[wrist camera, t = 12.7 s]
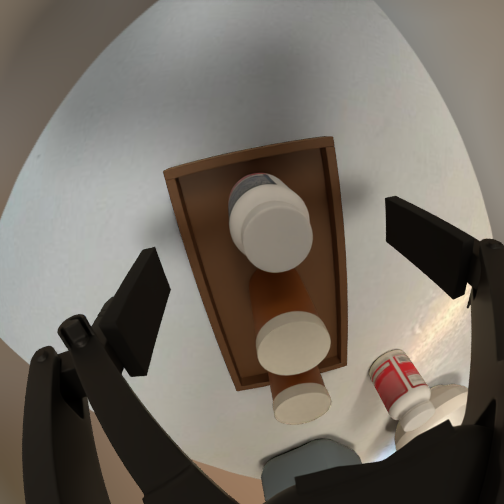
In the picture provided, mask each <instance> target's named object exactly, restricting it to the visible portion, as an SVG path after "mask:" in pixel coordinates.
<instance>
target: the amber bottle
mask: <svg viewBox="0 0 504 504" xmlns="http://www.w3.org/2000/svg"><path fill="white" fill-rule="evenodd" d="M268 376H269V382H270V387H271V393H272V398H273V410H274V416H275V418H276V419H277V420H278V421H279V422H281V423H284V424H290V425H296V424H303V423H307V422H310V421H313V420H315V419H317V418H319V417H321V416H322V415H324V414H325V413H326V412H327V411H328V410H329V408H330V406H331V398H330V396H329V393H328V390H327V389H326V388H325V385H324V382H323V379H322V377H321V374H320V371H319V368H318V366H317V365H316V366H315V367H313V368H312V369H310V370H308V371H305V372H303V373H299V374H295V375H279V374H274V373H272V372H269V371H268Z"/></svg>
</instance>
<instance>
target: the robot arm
mask: <svg viewBox="0 0 504 504" xmlns="http://www.w3.org/2000/svg"><path fill="white" fill-rule="evenodd" d="M385 206H386V242H387V243H389V244H390V245H391V246H392V247H394V248H395V249H396V250H397V251H398V252H400V253H401V254H402V255H403V256H404V257H406V258H407V259H408V260H409V261H410V262H412V263H413V264H414V265H415V266H416V267H418V268H419V269H420V270H421V271H422V272H423V273H424V274H426V275H427V276H428V277H429V278H430V279H431V280H432V281H433V282H435V283H436V284H437V285H438V286H439V287H440V288H441V289H442V290H443V291H445V292H446V293H447V294H448V295H449V296H450V297H451V298H452V299H456V298H458V297H460V296H462V295H464V294H465V290H466V285H467V283H468V284H470V285H471V286H472V289H471V293H470V297H469V301H468V305H467V308H469V306H470V305H471V329H472V333H471V364H470V377H469V387H468V395H467V403H466V410H465V415H464V419H463V421H462V424H461V425H458V426H452V424H451V422H450V420H449V419H447V420H446V421H444V422H442V423H440V424H439V425H437V426H435V427H433V428H431V429H429V430H427V431H425V432H423V433H421V434H419V435H417V436H416V437H415V438H413V439H412V440H411V441H410V442H408V443H407V444H406V445H404V446H403V447H402V448H400V449H399V450H398V451H396V452H395V453H393V454H392V455H391V456H389V457H388V458H386V459H385V460H382V461H379V462H372V463H365V464H356V465H346V466H336V467H333V468H329V469H325V470H321V471H318V472H313V473H309V474H305V475H300V476H296V477H294V479H295V485H293V486H291V487H289V488H286V489H284V490H283V491H281V492H279V493H277V494H276V495H274V496H273V497H271V498H270V499H268V500H267V501H266V502H265V503H263V504H504V245H503V244H502V243H501V242H499V241H496V240H494V239H483V240H481V241H479V240H477V239H475V238H474V237H472V236H470V235H469V234H467V233H465V232H464V231H462V230H460V229H458V228H457V227H455V226H453V225H451V224H450V223H448V222H446V221H444V220H442V219H440V218H439V217H437V216H435V215H433V214H431V213H429V212H427V211H425V210H423V209H421V208H419V207H417V206H415V205H413V204H411V203H409V202H407V201H405V200H403V199H401V198H399V197H397V196H393V197H387V198H385ZM170 291H171V289H170V286H169V284H168V281H167V278H166V276H165V273H164V270H163V268H162V265H161V262H160V259H159V257H158V254H157V251H156V248H155V247H152V248H148V249H144V250H142V252H141V253H140V255H139V256H138V258H137V259H136V261H135V263H134V264H133V266H132V267H131V269H130V271H129V272H128V274H127V275H126V277H125V279H124V280H123V282H122V284H121V285H120V287H119V289H118V291H117V292H116V294H115V296H114V297H111V298H110V299H109V300H108V301H107V302H106V303H105V304H104V306H103V307H102V309H101V312H99V314H98V317H97V318H96V319H95V321H94V323H93V325H92V327H91V326H90V324H89V322H88V320H87V319H86V317H85V316H84V315H82V314H78V315H74V316H72V317H70V318H68V319H66V320H65V321H64V322H63V323H62V324H61V325H60V326H59V328H58V335H59V336H60V338H61V339H62V341H63V342H64V344H65V345H66V347H67V348H68V350H69V351H66V352H63V353H60V354H57V352H56V351H55V350H54V348H53V347H52V346H46V347H43V348H41V349H39V350H37V351H36V352H35V354H34V356H33V357H32V359H31V362H30V368H29V374H28V381H27V388H26V396H25V406H24V418H23V439H22V461H23V481H24V493H25V501H26V504H111V503H110V500H109V497H108V493H107V490H106V487H105V483H104V480H103V476H102V472H101V468H100V464H99V460H98V456H97V451H96V447H95V442H94V436H93V431H92V425H91V419H90V413H89V405H88V400H89V402H90V404H91V406H92V408H93V410H94V412H95V414H96V416H97V418H98V420H99V422H100V424H101V426H102V428H103V430H104V432H105V433H106V435H107V437H108V439H109V441H110V442H111V444H112V446H113V447H114V449H115V451H116V453H117V454H118V456H119V458H120V459H121V461H122V462H123V464H124V466H125V467H126V469H127V470H128V471H129V473H130V474H131V476H132V478H133V479H134V480H135V482H136V483H137V485H138V486H139V487H140V489H141V490H142V492H143V493H144V498H143V499H142V500H143V503H144V504H239V503H238V502H237V501H236V500H235V499H233V498H232V497H231V496H230V495H228V494H227V493H226V492H225V491H224V490H223V489H221V488H220V487H219V486H218V485H217V484H216V483H215V482H214V481H213V480H212V479H210V478H209V477H208V476H207V475H206V474H205V473H204V472H203V471H202V470H201V469H200V468H199V467H198V466H197V465H196V464H195V463H194V462H193V461H192V460H191V459H190V458H189V457H188V456H187V455H186V454H185V453H184V452H183V451H182V450H181V448H180V447H179V446H178V445H177V444H176V443H175V442H174V441H173V440H172V439H171V437H170V436H169V435H168V434H167V433H166V432H165V431H164V429H163V428H162V427H161V426H160V425H159V423H158V422H157V421H156V420H155V419H154V417H153V416H152V415H151V414H150V412H149V411H148V410H147V409H146V407H145V406H144V405H143V403H142V402H141V401H140V399H139V398H138V397H137V395H136V394H135V393H134V391H133V390H132V389H131V387H130V386H129V384H128V383H127V381H126V380H125V379H124V377H123V376H122V372H123V369H124V368H125V369H126V371H127V372H128V374H129V375H130V377H136V376H147V373H148V369H149V365H150V361H151V357H152V353H153V349H154V346H155V342H156V338H157V335H158V331H159V328H160V324H161V321H162V317H163V314H164V310H165V307H166V304H167V300H168V297H169V294H170Z"/></svg>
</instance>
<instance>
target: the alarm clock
mask: <svg viewBox="0 0 504 504" xmlns="http://www.w3.org/2000/svg"><path fill="white" fill-rule="evenodd" d="M356 464H362V463H361V460H360V457H359V456H358V455H357V453H356V452H355V451H354V450H352V449H350V448H348V447H346V446H344V445H341V444H339V443H337V442H335V441H332V440H329V439H319V440H314V441H310V442H309V443H308V444H306V445H303V446H301V447H299V448H297V449H295V450H292V451H290V452H288V453H285V454H283V455H280V456H278V457H277V456H276V457H274V458H273V459H271V460H269V461H268V462H267V464H266V465H265V466H264V468H263V472H262V475H261V480H262V486H263V491H264V497H265V501H267V500H268V499H270V498H271V497H273V496H274V495H276V494H277V493H279V492H281V491H283V490H284V489H286V488H289V487H291V486H293V485H295V479H294V477H296V476H300V475H305V474H309V473H313V472H318V471H321V470H325V469H329V468H333V467H336V466H346V465H356Z"/></svg>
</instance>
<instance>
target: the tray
mask: <svg viewBox="0 0 504 504" xmlns="http://www.w3.org/2000/svg"><path fill="white" fill-rule="evenodd" d="M253 173H266V174H270V175H273V176H275V177H277V178H278V179H280V180H281V181H282V182H283V183H284V184H286V185H287V186H288V187H289V188H290V189H291V190H292V191H294V192H295V193H296V194H297V195H298V196H299V197H300V198H301V199H302V200H303V202H304V203H305V205H306V207H307V210H308V213H309V220H310V225H311V228H312V233H313V242H312V246H311V249H310V252H309V253H308V255H307V257H306V258H305V259H304V260H303V261H302V262H301V263H300V264H299V265H298V266H296V267H294V269H295V270H296V271H297V272H298V274H299V276H300V278H301V280H302V282H303V284H304V286H305V288H306V290H307V292H308V294H309V297H310V299H311V301H312V303H313V305H314V307H315V309H316V311H317V313H318V315H319V317H320V319H321V320H322V322H323V323H324V325H325V327H326V329H327V331H328V333H329V336H330V340H331V344H330V349H329V351H328V353H327V355H326V357H325V358H324V359H323V360H322V361H321V362H320V363H319V364H318V365H317V366H318V368H319V371H320V373H323V372H327V371H330V370H334V369H337V368H340V367H344V366H347V341H348V301H347V269H346V250H345V236H344V223H343V212H342V202H341V192H340V184H339V176H338V168H337V161H336V154H335V147H334V140H333V137H331V136H322V137H315V138H308V139H301V140H294V141H288V142H282V143H276V144H271V145H265V146H260V147H255V148H250V149H245V150H240V151H235V152H231V153H226V154H222V155H218V156H213V157H209V158H205V159H201V160H197V161H193V162H189V163H186V164H182V165H178V166H174V167H171V168H168V169H166V170H164V171H163V174H164V177H165V181H166V185H167V188H168V192H169V195H170V199H171V203H172V206H173V210H174V213H175V217H176V220H177V223H178V227H179V230H180V233H181V237H182V240H183V243H184V246H185V250H186V253H187V256H188V259H189V262H190V265H191V268H192V272H193V275H194V278H195V281H196V284H197V287H198V289H199V292H200V295H201V298H202V301H203V304H204V307H205V310H206V312H207V315H208V318H209V321H210V324H211V326H212V329H213V332H214V334H215V337H216V340H217V342H218V345H219V348H220V350H221V353H222V355H223V358H224V361H225V363H226V366H227V368H228V371H229V373H230V376H231V378H232V381H233V383H234V386H235V388H236V390H237V391H242V390H248V389H253V388H258V387H264V386H269V385H270V382H269V376H268V370H266V369H265V368H264V367H263V366H262V365H261V364H260V362H259V360H258V356H257V349H256V333H255V327H254V320H253V313H252V307H251V300H250V293H249V281H250V279H251V276H252V275H253V273H254V272H255V271H256V270H257V269H258V268H257V267H256V266H254V265H253V264H252V263H251V262H250V261H249V259H248V258H247V256H246V255H245V254H243V253H242V252H241V251H240V250H239V249H238V248H237V246H236V245H235V243H234V242H233V239H232V237H231V233H230V228H229V211H228V200H229V195H230V193H231V190H232V188H233V187H234V185H235V184H236V183H237V182H238V181H239V180H240V179H242V178H243V177H245V176H247V175H250V174H253Z"/></svg>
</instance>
